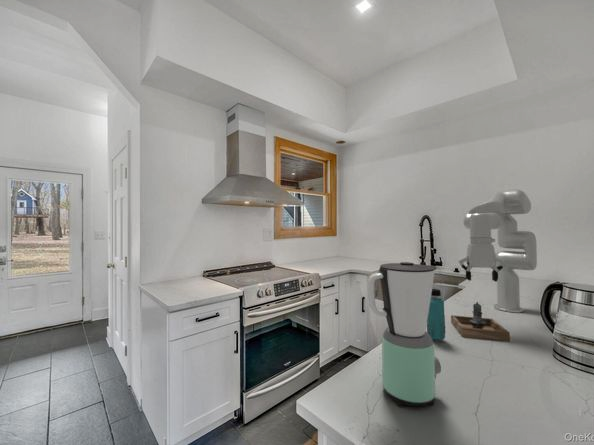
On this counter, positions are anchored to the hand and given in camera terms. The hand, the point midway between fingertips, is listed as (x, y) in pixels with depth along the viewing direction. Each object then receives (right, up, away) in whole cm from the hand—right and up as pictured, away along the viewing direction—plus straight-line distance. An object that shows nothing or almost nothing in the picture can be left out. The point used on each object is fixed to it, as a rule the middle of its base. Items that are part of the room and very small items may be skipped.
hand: (481, 280), depth 115 cm
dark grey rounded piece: (-3, -21, -2) cm, 21 cm away
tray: (-3, -21, -2) cm, 22 cm away
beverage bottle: (-26, -21, -11) cm, 35 cm away
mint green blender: (-52, -21, -45) cm, 72 cm away
